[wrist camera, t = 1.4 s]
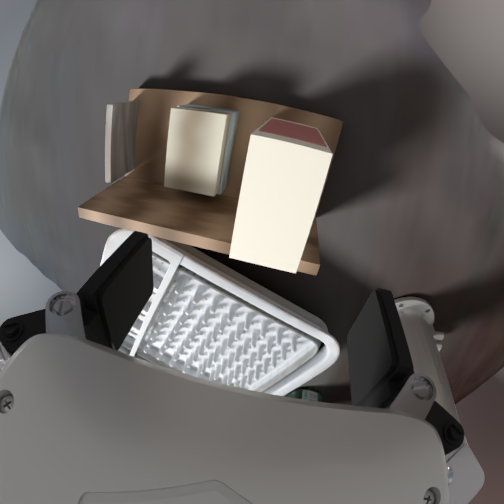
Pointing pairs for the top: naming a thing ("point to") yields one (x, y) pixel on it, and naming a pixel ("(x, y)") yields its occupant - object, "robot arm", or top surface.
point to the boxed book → (279, 194)
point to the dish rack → (223, 324)
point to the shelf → (190, 206)
